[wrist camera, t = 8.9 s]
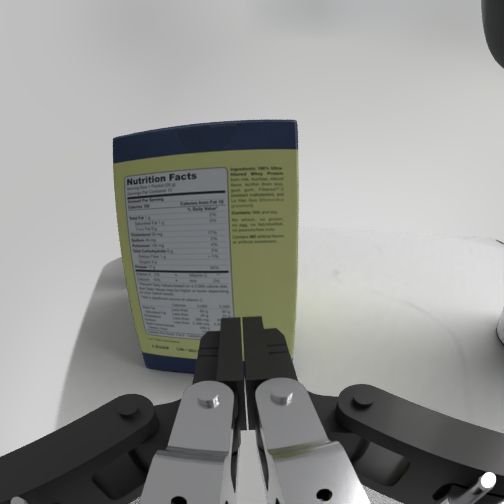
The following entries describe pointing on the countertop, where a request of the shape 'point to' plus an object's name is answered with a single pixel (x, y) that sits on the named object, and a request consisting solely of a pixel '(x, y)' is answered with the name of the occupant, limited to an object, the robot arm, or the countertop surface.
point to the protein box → (207, 232)
